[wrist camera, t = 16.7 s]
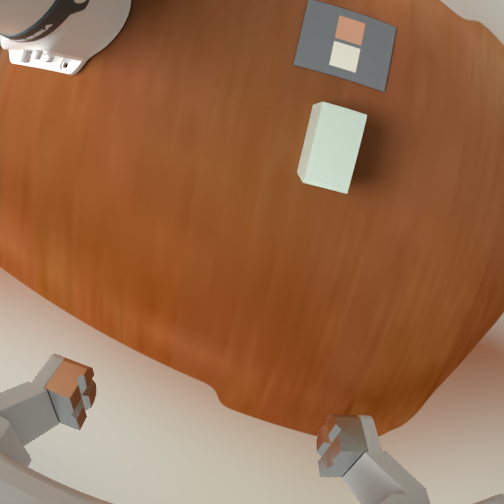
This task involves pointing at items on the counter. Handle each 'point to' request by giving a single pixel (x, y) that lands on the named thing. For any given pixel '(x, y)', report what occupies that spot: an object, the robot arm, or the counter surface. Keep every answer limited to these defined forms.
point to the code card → (345, 45)
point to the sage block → (331, 146)
